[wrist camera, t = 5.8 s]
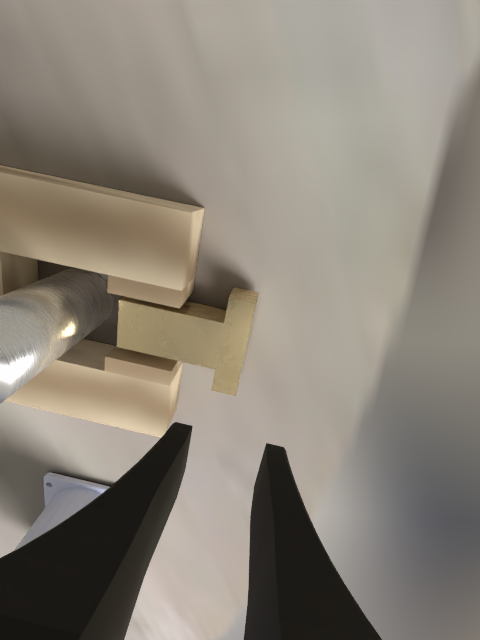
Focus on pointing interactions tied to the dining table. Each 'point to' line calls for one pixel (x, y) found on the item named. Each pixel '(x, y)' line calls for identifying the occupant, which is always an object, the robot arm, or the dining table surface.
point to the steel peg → (48, 323)
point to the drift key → (192, 334)
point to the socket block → (123, 279)
